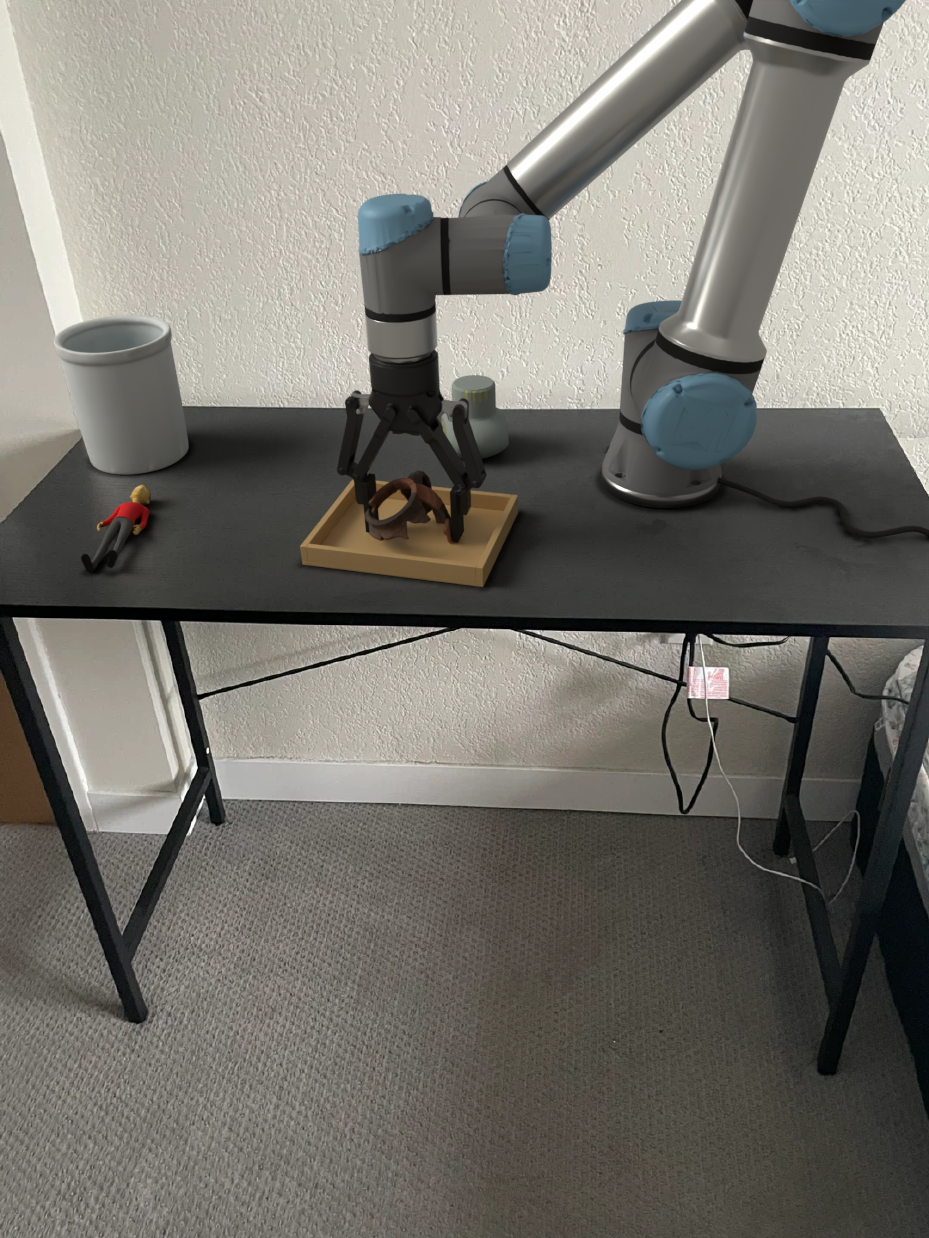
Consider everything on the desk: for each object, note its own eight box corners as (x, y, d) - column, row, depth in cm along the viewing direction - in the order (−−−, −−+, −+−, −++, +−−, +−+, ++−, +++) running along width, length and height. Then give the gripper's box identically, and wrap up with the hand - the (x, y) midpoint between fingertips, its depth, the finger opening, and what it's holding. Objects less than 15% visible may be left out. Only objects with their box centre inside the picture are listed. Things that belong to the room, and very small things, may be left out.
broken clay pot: (458, 559, 118) (420, 513, 113) (390, 584, 122) (350, 540, 117) (464, 489, 126) (430, 442, 120) (400, 514, 130) (364, 470, 124)
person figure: (75, 540, 115) (126, 468, 130) (73, 568, 118) (123, 495, 132) (120, 552, 116) (166, 479, 131) (117, 580, 118) (162, 505, 133)
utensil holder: (179, 477, 138) (153, 350, 128) (70, 478, 138) (36, 353, 128) (204, 431, 150) (182, 313, 140) (104, 433, 150) (75, 315, 140)
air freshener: (511, 465, 138) (511, 395, 132) (450, 470, 137) (447, 400, 132) (497, 432, 147) (497, 365, 141) (440, 437, 146) (438, 370, 141)
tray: (518, 512, 127) (518, 495, 126) (483, 587, 113) (482, 568, 112) (355, 495, 132) (353, 478, 131) (302, 564, 118) (299, 546, 117)
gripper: (513, 345, 110) (514, 526, 123) (318, 333, 115) (337, 507, 128) (497, 370, 104) (499, 558, 117) (291, 356, 109) (315, 537, 122)
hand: (415, 531), depth 122 cm, fingers closed on broken clay pot, 10 cm apart
